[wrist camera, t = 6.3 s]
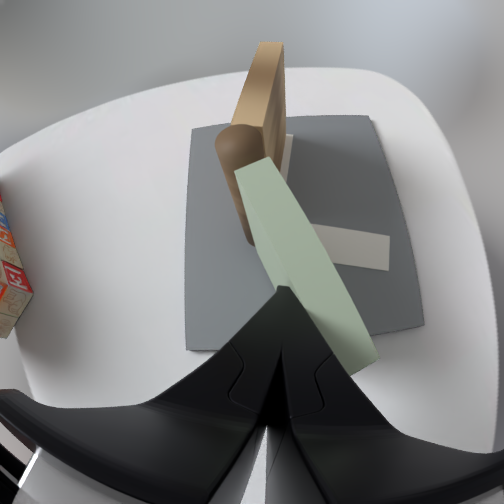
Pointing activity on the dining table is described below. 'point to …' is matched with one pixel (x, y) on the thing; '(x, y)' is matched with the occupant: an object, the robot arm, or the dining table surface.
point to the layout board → (321, 219)
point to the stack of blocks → (10, 280)
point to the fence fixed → (255, 123)
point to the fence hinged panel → (302, 263)
